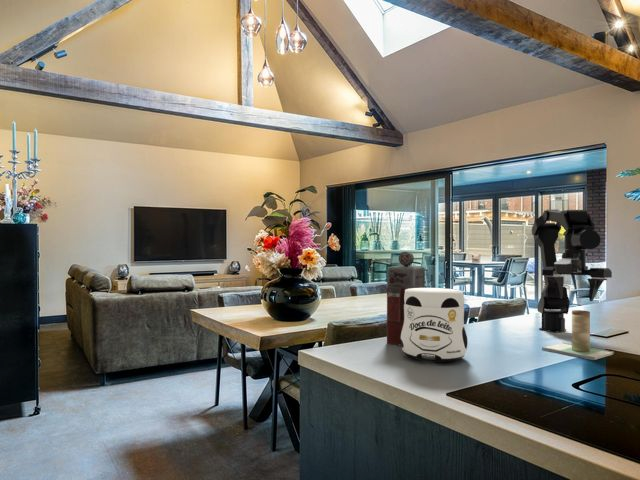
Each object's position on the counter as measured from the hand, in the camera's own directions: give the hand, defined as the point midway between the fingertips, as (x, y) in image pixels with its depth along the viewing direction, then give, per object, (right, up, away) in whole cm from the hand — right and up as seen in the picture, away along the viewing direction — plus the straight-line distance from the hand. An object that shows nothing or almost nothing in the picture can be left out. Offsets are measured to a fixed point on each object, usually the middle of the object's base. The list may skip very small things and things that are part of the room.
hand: (575, 299), depth 142 cm
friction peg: (-6, -12, -14) cm, 20 cm away
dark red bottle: (-54, -13, -2) cm, 55 cm away
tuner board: (-7, -13, -13) cm, 20 cm away
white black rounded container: (-49, -13, -20) cm, 55 cm away
